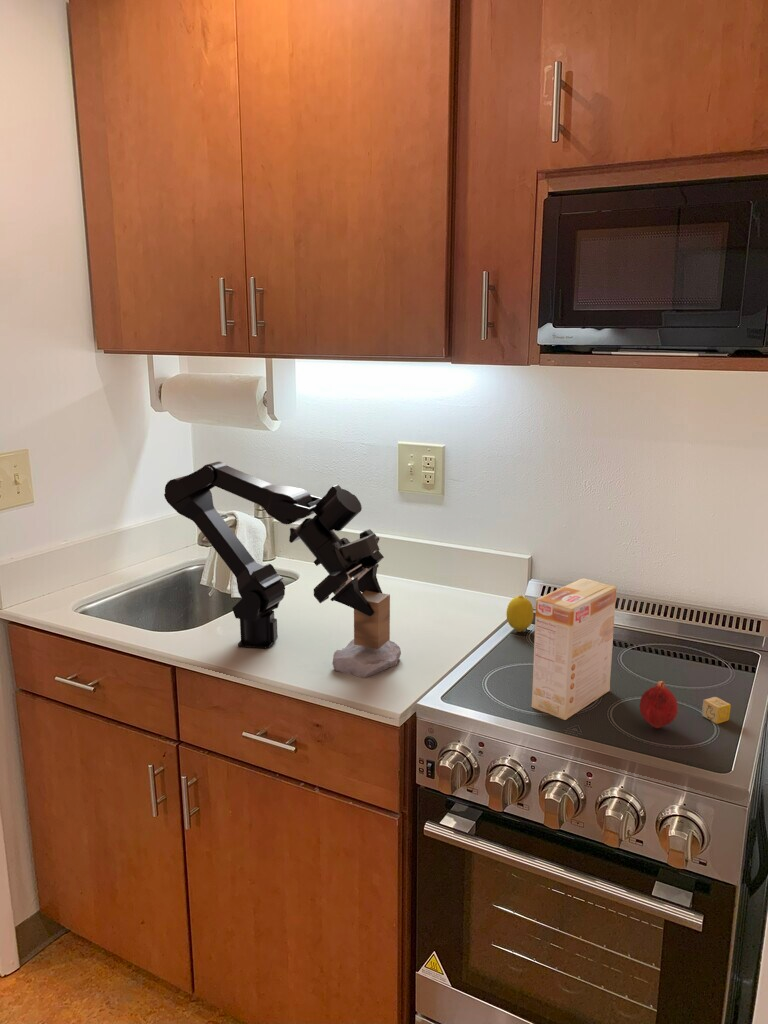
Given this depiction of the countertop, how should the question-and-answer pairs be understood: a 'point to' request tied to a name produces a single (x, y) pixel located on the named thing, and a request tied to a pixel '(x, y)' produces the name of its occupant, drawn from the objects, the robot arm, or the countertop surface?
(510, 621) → the lemon
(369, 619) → the walnut block
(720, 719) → the alphabet block
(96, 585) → the countertop surface
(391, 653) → the lilac crinkled slab
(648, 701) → the onion
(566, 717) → the coffeecake box
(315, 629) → the countertop surface
